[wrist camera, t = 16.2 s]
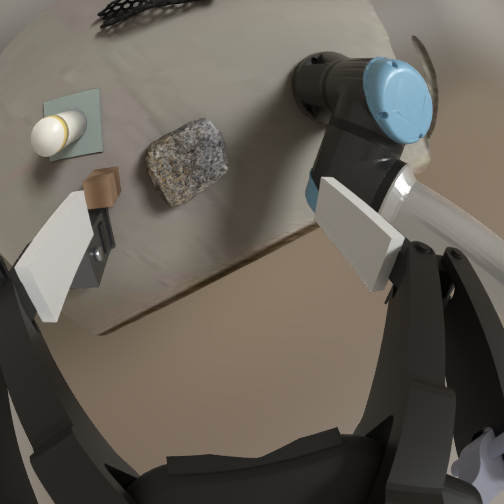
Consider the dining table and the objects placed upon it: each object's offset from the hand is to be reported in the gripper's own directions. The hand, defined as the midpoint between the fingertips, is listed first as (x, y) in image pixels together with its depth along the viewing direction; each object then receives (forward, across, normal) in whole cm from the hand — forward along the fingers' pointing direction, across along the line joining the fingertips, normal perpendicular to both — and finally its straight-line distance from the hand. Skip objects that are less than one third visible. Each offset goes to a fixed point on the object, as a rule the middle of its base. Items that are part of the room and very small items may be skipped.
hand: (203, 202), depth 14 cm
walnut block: (+36, +17, +10) cm, 41 cm away
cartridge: (+35, +23, -2) cm, 42 cm away
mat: (+36, +23, -2) cm, 43 cm away
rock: (+37, +1, +7) cm, 37 cm away
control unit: (+36, +23, +19) cm, 47 cm away
